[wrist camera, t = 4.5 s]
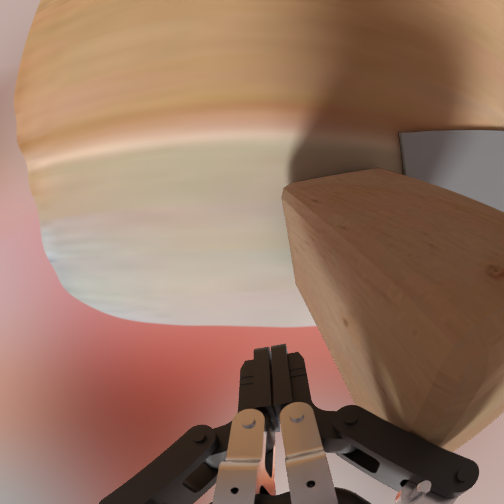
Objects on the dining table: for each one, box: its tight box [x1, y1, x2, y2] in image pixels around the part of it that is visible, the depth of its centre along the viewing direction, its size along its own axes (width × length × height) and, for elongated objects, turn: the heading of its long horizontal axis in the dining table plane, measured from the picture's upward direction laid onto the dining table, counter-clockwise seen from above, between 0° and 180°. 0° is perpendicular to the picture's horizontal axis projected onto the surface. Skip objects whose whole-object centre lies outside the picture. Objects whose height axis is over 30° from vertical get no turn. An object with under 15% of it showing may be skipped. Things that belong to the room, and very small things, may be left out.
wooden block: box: [282, 168, 504, 452], centre depth 15 cm, size 10×10×20 cm
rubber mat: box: [399, 130, 504, 212], centre depth 22 cm, size 17×27×1 cm, turn 104°
